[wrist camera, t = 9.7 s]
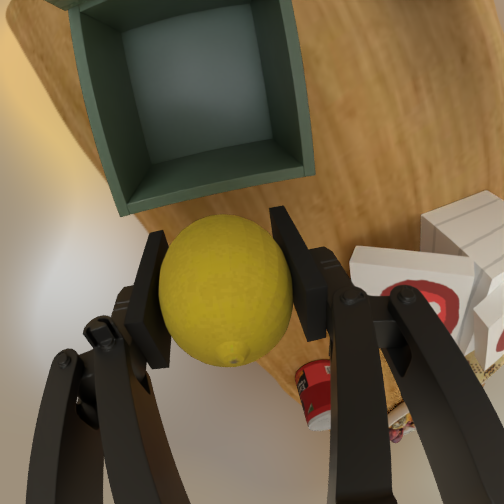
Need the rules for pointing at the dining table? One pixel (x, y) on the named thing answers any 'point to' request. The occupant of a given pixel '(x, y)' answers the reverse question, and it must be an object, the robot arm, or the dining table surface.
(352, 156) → the dining table surface
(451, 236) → the pizza boxes
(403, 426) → the bowl
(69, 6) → the bin lid
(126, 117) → the bin
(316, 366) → the canned food
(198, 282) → the lemon
